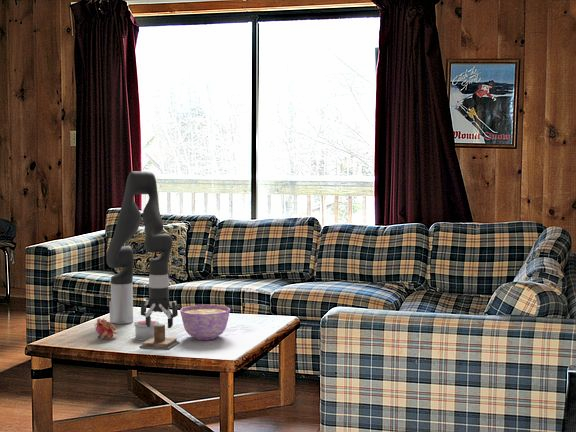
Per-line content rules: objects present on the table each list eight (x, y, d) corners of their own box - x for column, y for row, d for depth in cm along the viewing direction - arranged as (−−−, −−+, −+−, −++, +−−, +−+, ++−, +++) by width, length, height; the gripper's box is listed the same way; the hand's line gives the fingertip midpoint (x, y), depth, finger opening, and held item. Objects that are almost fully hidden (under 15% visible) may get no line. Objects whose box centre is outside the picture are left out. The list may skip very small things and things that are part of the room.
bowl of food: (174, 334, 341) (174, 306, 340) (221, 330, 349) (220, 303, 348) (188, 345, 322) (188, 316, 321) (237, 340, 330) (237, 311, 329)
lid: (142, 345, 319) (142, 327, 319) (152, 340, 329) (152, 321, 328) (167, 347, 317) (166, 328, 316) (176, 341, 327) (176, 323, 326)
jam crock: (130, 339, 332) (130, 324, 332) (140, 334, 342) (140, 319, 341) (153, 340, 330) (153, 325, 330) (162, 335, 340) (162, 320, 339)
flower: (92, 338, 328) (104, 321, 328) (86, 328, 335) (98, 312, 336) (111, 348, 333) (123, 332, 333) (105, 339, 340) (117, 323, 341)
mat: (139, 347, 319) (139, 346, 319) (150, 341, 330) (150, 339, 330) (169, 349, 316) (169, 347, 316) (179, 342, 327) (179, 341, 327)
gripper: (137, 286, 319) (138, 328, 321) (172, 288, 316) (173, 330, 317) (145, 283, 326) (145, 324, 328) (179, 284, 323) (180, 326, 324)
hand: (159, 327), depth 322 cm, fingers open, 8 cm apart
